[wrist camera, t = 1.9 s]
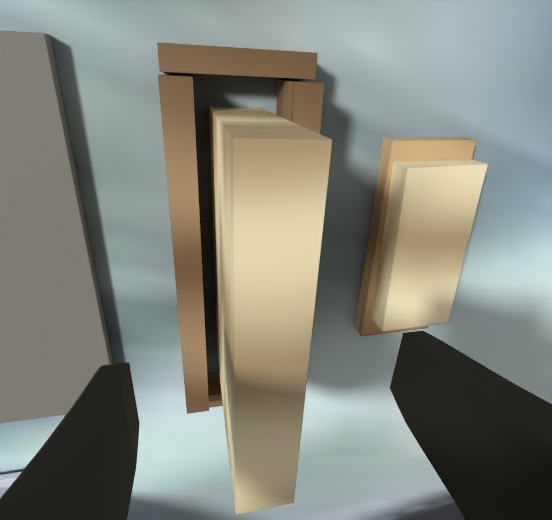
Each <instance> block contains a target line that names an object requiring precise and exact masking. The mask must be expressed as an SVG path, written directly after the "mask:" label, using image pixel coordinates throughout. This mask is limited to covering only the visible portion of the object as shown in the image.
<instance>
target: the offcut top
mask: <svg viewBox="0 0 552 520" xmlns="http://www.w3.org/2000/svg"><path fill="white" fill-rule="evenodd" d="M487 165H488V164H485V163H482V162H479V161H475V160H472V159H469V158H467V159H446V160H426V161H406V162H393V168H392V175H391V183H390V190H389V197H388V205H387V212H386V219H385V227H384V234H383V241H382V249H381V256H380V263H379V270H378V278H377V285H376V292H375V300H374V307H373V314H372V318H373V320H374V321H375V322H376V324H377V325H378V326H379V328H380V329H381V330H382V332H383V331H391V330H398V329H405V328H413V327H420V326H427V325H435V324H442V323H448V321H449V317H450V313H451V309H452V305H453V301H454V297H455V293H456V289H457V285H458V281H459V277H460V273H461V269H462V265H463V261H464V257H465V253H466V249H467V245H468V241H469V237H470V233H471V229H472V225H473V221H474V217H475V213H476V209H477V205H478V201H479V197H480V193H481V189H482V185H483V181H484V177H485V173H486V169H487Z"/></svg>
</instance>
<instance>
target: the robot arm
mask: <svg viewBox="0 0 552 520" xmlns="http://www.w3.org/2000/svg"><path fill="white" fill-rule="evenodd" d="M390 389H391V391H392V394H393V396H394V398H395V401H396V403H397V405H398V407H399V409H400V411H401V414H402V416H403V418H404V420H405V422H406V424H407V425H408V427H409V429H410V430H411V432H412V434H413V435H414V437H415V439H416V440H417V442H418V443H419V445H420V447H421V448H422V450H423V452H424V453H425V455H426V456H427V458H428V459H429V461H430V463H431V464H432V466H433V467H434V469H435V471H436V472H437V474H438V475H439V477H440V479H441V480H442V482H443V483H444V485H445V487H446V488H447V490H448V491H449V493H450V495H451V496H452V498H453V499H454V501H455V503H456V504H457V506H458V508H459V509H460V511H461V513H462V514H463V516H464V518H465V520H552V404H550V403H548V402H546V401H545V400H543V399H541V398H539V397H537V396H535V395H533V394H532V393H530V392H528V391H526V390H524V389H523V388H521V387H519V386H517V385H515V384H514V383H512V382H510V381H508V380H507V379H505V378H503V377H502V376H500V375H498V374H496V373H495V372H493V371H491V370H490V369H488V368H486V367H485V366H483V365H481V364H480V363H478V362H476V361H474V360H473V359H471V358H469V357H468V356H466V355H464V354H463V353H461V352H459V351H458V350H456V349H454V348H453V347H451V346H449V345H448V344H446V343H444V342H443V341H441V340H439V339H437V338H436V337H434V336H432V335H430V334H428V333H426V332H424V331H417V332H407V333H403V336H402V340H401V344H400V349H399V353H398V357H397V361H396V365H395V369H394V373H393V377H392V381H391V386H390ZM138 436H139V418H138V412H137V406H136V401H135V395H134V389H133V383H132V377H131V371H130V365H129V363H120V364H110V365H102V366H101V367H100V368H99V369H98V370H97V371H96V372H95V374H94V375H93V377H92V378H91V380H90V381H89V383H88V384H87V386H86V387H85V389H84V390H83V392H82V393H81V395H80V396H79V397H78V399H77V400H76V402H75V403H74V405H73V406H72V407H71V409H70V410H69V412H68V413H67V414H66V416H65V417H64V419H63V420H62V421H61V422H60V424H59V425H58V426H57V428H56V429H55V430H54V432H53V433H52V434H51V436H50V437H49V438H48V440H47V441H46V442H45V444H44V445H43V446H42V448H41V449H40V450H39V452H38V453H37V454H36V455H35V457H34V458H33V459H32V460H31V461H30V463H29V464H28V465H27V466H26V468H25V469H24V470H23V471H22V472H16V473H10V474H3V475H0V520H127V515H128V509H129V504H130V498H131V493H132V487H133V482H134V476H135V470H136V462H137V450H138Z"/></svg>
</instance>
